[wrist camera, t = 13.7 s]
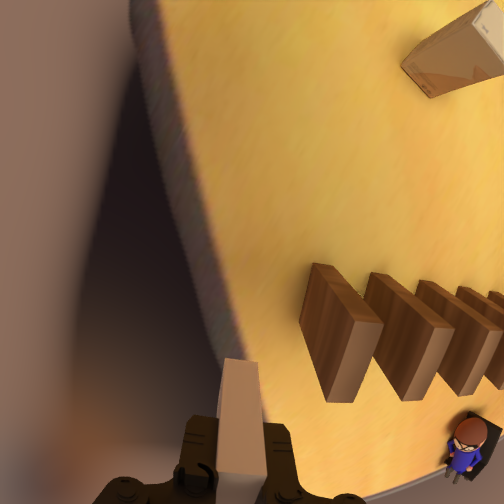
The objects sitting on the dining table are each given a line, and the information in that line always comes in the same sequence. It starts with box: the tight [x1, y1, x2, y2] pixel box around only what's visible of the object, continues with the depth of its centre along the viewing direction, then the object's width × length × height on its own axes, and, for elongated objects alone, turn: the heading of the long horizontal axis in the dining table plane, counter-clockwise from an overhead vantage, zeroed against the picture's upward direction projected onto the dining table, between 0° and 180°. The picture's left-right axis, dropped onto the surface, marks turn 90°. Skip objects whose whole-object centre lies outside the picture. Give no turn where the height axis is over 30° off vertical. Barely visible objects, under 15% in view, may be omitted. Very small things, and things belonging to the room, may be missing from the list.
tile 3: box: [415, 280, 503, 397], centre depth 22 cm, size 2×6×11 cm, turn 170°
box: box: [401, 0, 504, 98], centre depth 17 cm, size 5×4×11 cm
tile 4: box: [455, 286, 504, 390], centre depth 23 cm, size 2×6×11 cm, turn 170°
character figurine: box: [444, 411, 503, 484], centre depth 30 cm, size 8×7×15 cm
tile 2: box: [363, 272, 455, 401], centre depth 22 cm, size 2×6×11 cm, turn 170°
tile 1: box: [299, 263, 384, 403], centre depth 22 cm, size 2×6×11 cm, turn 171°
